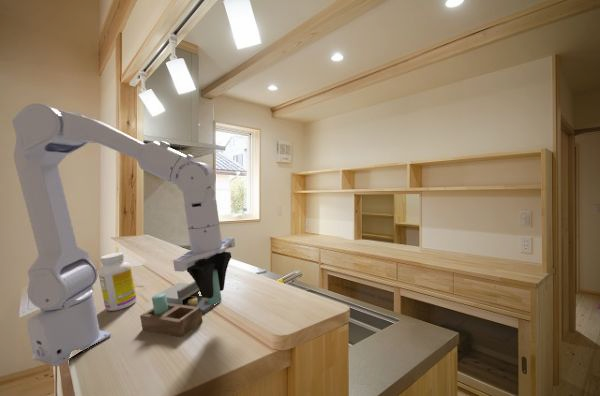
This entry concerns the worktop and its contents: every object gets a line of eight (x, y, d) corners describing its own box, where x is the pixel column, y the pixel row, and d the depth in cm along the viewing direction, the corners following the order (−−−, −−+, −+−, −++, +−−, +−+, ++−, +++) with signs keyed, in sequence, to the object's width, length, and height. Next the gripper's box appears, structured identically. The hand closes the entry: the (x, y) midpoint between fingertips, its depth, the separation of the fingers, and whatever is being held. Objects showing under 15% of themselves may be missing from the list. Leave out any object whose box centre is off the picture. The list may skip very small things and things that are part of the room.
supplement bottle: (141, 297, 74) (133, 249, 73) (127, 310, 68) (118, 257, 66) (115, 300, 74) (106, 252, 72) (99, 313, 67) (88, 261, 66)
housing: (181, 312, 63) (178, 292, 63) (156, 308, 66) (152, 289, 66) (205, 296, 70) (202, 278, 69) (180, 293, 73) (178, 276, 73)
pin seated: (162, 328, 58) (157, 299, 57) (153, 326, 59) (148, 298, 58) (173, 321, 60) (168, 294, 59) (164, 319, 61) (159, 292, 60)
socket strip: (181, 337, 53) (178, 322, 53) (142, 329, 58) (140, 315, 57) (202, 321, 59) (200, 307, 58) (165, 315, 63) (163, 302, 63)
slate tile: (204, 313, 62) (202, 304, 61) (182, 310, 64) (180, 302, 64) (221, 301, 67) (219, 293, 67) (200, 298, 69) (198, 291, 69)
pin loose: (215, 304, 54) (211, 274, 54) (204, 303, 55) (200, 273, 55) (224, 298, 57) (220, 269, 56) (213, 297, 58) (209, 268, 57)
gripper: (191, 235, 46) (203, 314, 48) (243, 217, 59) (251, 279, 61) (160, 235, 49) (172, 310, 50) (216, 217, 62) (224, 277, 64)
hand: (213, 293), depth 56 cm, fingers closed on pin loose, 3 cm apart
